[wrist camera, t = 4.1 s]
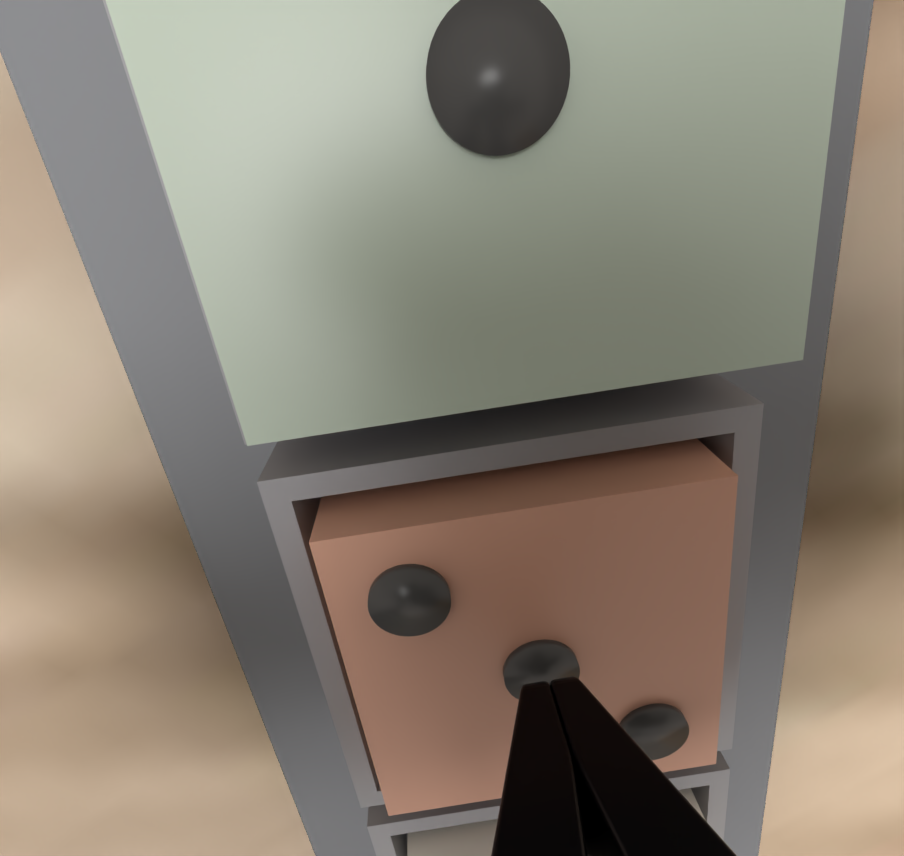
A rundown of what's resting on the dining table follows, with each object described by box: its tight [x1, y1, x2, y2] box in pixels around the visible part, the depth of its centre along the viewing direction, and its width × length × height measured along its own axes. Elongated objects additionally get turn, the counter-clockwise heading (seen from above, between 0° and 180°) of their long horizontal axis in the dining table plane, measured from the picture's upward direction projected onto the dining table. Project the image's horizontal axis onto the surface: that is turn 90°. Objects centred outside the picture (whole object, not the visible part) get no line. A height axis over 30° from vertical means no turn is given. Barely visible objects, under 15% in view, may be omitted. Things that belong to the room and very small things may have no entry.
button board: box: [0, 0, 874, 856], centre depth 11 cm, size 25×12×4 cm, turn 8°
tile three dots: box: [309, 438, 738, 816], centre depth 10 cm, size 6×6×3 cm
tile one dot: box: [106, 0, 846, 446], centre depth 6 cm, size 6×6×3 cm
